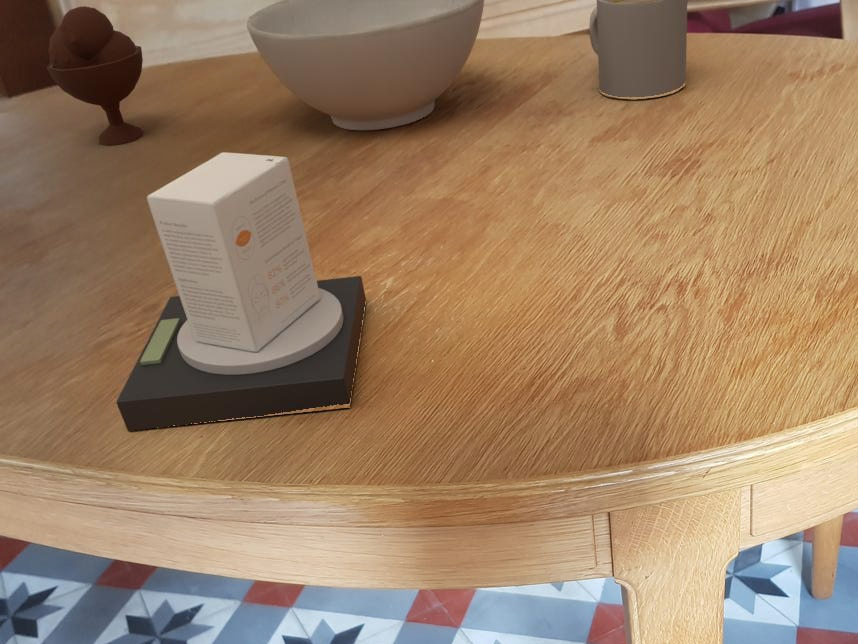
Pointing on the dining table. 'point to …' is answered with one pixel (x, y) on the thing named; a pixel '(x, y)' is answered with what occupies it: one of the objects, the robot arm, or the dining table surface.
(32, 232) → the dining table surface
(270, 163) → the small box
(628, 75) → the coffee mug
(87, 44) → the ice cream bowl
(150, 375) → the scale
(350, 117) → the decorative bowl
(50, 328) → the dining table surface
